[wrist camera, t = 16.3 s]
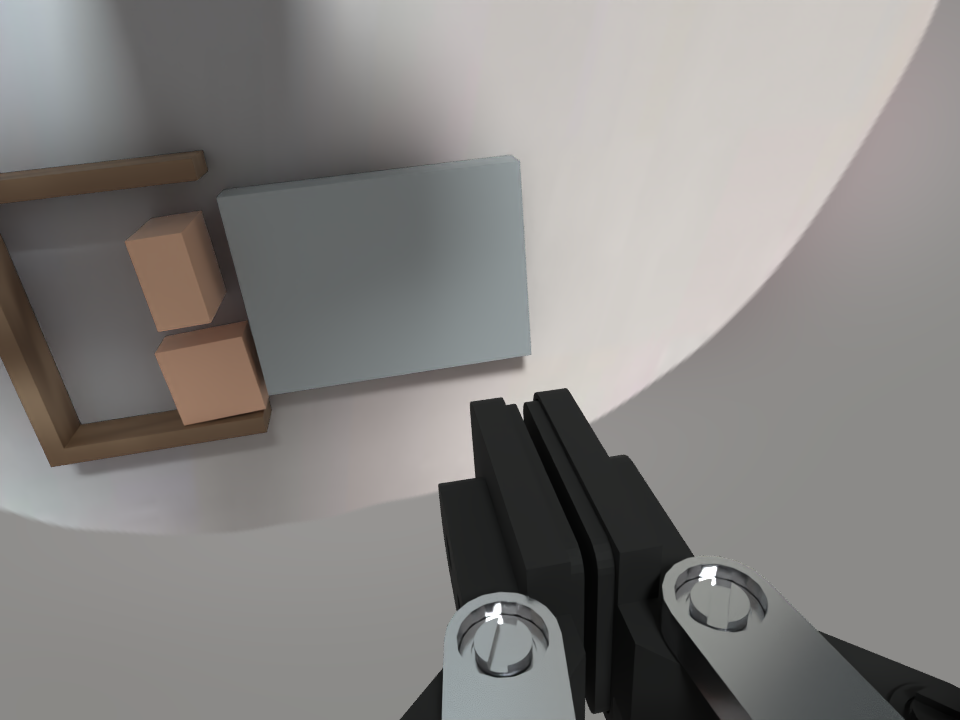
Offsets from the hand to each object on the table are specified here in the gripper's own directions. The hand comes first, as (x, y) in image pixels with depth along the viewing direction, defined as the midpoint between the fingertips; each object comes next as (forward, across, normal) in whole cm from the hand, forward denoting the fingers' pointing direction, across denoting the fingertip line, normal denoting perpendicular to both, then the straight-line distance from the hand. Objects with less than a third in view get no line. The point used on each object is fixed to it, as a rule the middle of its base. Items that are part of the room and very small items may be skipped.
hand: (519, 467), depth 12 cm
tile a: (+24, +10, +3) cm, 27 cm away
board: (+26, +2, +5) cm, 27 cm away
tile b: (+27, +12, +10) cm, 31 cm away
